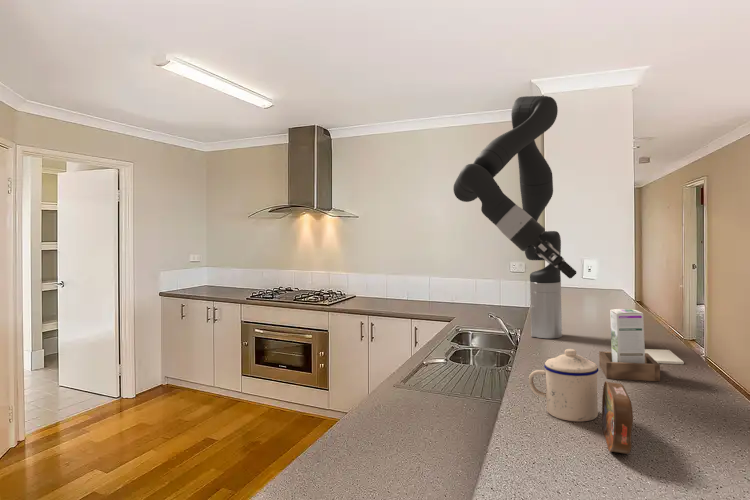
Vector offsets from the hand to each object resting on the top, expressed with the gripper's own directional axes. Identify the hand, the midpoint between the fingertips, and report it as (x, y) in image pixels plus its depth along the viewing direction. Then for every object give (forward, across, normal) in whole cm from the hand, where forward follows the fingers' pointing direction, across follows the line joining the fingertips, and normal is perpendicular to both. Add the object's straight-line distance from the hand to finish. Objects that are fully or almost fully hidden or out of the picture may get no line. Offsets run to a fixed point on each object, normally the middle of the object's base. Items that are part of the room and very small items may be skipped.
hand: (571, 274), depth 111 cm
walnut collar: (+24, 0, +8) cm, 26 cm away
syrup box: (+24, 0, +8) cm, 26 cm away
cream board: (+30, +16, +2) cm, 34 cm away
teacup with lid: (+13, -28, +20) cm, 37 cm away
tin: (+18, -39, +15) cm, 45 cm away
